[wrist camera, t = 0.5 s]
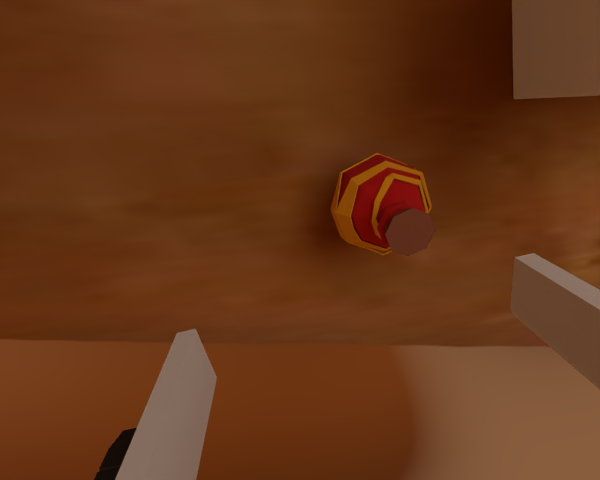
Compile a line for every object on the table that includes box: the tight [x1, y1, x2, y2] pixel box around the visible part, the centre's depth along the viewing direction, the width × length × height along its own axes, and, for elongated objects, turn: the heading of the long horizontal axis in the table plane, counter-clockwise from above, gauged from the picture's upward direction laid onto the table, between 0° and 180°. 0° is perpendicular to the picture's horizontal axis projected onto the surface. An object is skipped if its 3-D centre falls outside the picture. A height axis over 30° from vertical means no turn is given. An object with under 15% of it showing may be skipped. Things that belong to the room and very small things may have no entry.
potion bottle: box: [330, 153, 435, 256], centre depth 32 cm, size 10×10×15 cm
